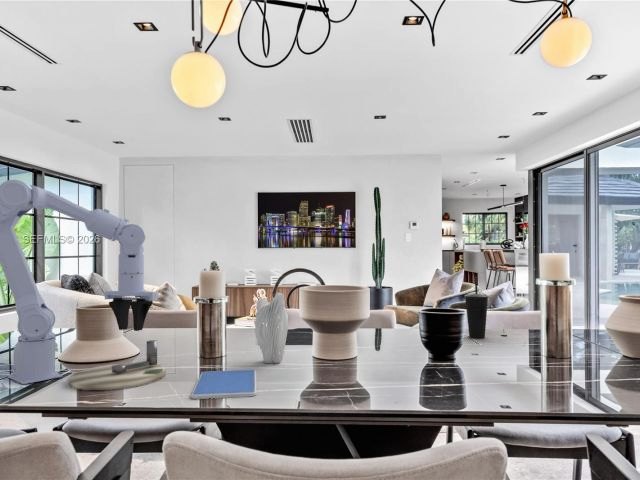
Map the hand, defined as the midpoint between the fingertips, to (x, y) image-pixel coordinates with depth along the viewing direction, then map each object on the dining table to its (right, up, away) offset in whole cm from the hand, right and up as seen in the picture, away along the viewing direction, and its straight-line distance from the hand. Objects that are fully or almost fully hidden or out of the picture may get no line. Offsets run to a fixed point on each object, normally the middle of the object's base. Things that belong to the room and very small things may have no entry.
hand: (130, 329), depth 112 cm
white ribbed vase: (+34, -10, +6) cm, 35 cm away
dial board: (+1, -9, -8) cm, 12 cm away
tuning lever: (+3, -8, -5) cm, 10 cm away
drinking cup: (+97, -10, +40) cm, 106 cm away
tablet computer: (+26, -10, -14) cm, 31 cm away
